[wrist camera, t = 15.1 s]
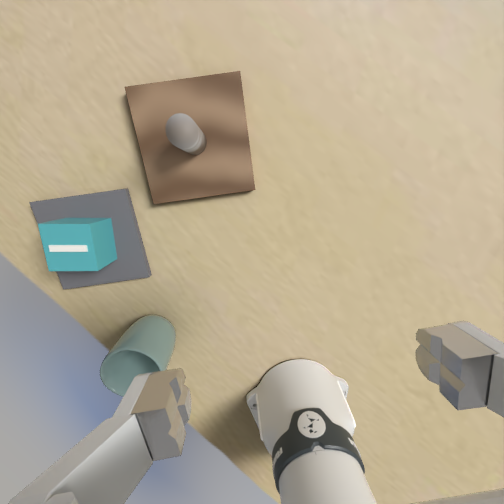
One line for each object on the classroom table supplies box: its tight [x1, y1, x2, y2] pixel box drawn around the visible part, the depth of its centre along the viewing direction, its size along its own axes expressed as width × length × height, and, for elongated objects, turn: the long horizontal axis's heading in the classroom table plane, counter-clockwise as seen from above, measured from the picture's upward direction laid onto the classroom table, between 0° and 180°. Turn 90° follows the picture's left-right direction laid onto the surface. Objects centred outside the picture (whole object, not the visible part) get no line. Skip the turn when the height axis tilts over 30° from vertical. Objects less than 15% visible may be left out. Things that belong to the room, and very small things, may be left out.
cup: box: [100, 315, 176, 397], centre depth 35 cm, size 8×8×10 cm
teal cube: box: [38, 218, 117, 271], centre depth 32 cm, size 6×6×5 cm
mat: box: [29, 189, 152, 289], centre depth 35 cm, size 13×13×1 cm
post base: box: [125, 71, 255, 204], centre depth 29 cm, size 14×14×8 cm
